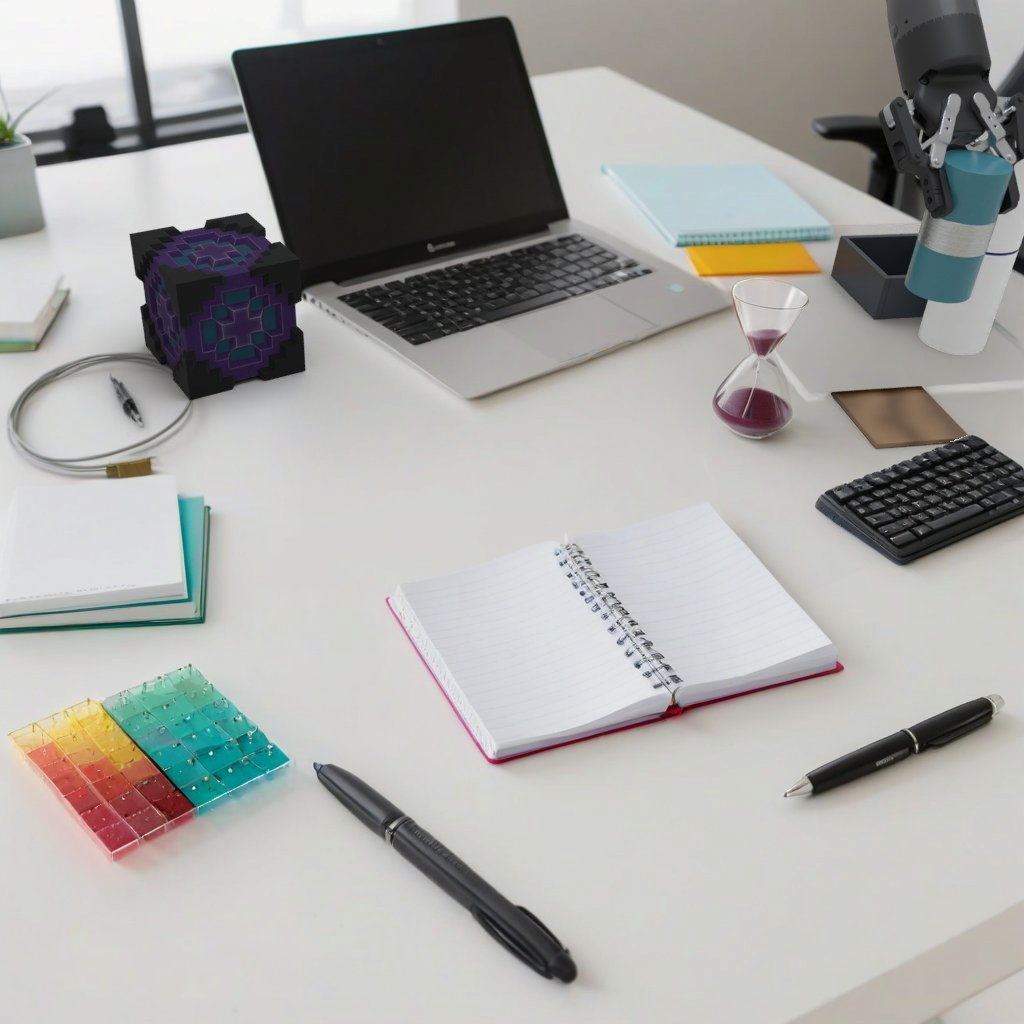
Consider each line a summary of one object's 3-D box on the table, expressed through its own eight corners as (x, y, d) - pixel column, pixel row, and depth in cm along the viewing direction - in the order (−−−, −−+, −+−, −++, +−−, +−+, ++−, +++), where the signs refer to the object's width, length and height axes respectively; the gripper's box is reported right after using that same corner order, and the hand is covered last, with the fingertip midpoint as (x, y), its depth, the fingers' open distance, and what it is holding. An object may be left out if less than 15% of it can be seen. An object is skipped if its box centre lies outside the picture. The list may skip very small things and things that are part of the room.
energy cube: (189, 400, 109) (175, 284, 102) (145, 345, 117) (129, 233, 110) (305, 370, 115) (299, 258, 108) (256, 319, 123) (247, 212, 116)
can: (950, 272, 110) (989, 148, 102) (984, 302, 105) (1028, 174, 98) (892, 275, 108) (928, 149, 101) (924, 305, 104) (964, 175, 96)
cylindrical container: (916, 356, 125) (988, 127, 110) (914, 327, 131) (982, 105, 116) (984, 367, 124) (1066, 138, 109) (979, 337, 130) (1056, 115, 115)
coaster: (918, 388, 120) (920, 384, 120) (969, 441, 112) (970, 437, 112) (830, 394, 118) (831, 390, 118) (875, 448, 110) (877, 444, 110)
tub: (913, 278, 142) (927, 232, 138) (961, 322, 133) (977, 274, 129) (828, 282, 139) (840, 235, 136) (871, 327, 130) (885, 278, 127)
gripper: (891, 10, 97) (932, 200, 95) (1032, 8, 101) (1074, 191, 99) (843, 56, 104) (880, 235, 102) (977, 53, 108) (1015, 224, 106)
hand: (975, 212), depth 100 cm, fingers closed on can, 6 cm apart
